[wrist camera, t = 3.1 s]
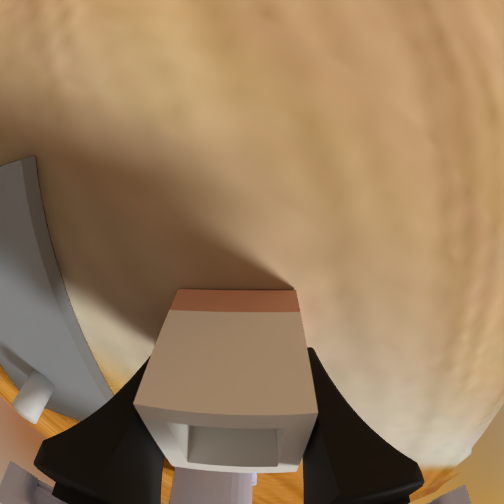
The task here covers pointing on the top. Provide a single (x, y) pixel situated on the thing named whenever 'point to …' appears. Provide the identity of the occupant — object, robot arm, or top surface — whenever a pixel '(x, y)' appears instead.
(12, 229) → the pin board
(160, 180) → the top surface
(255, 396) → the sleeve
